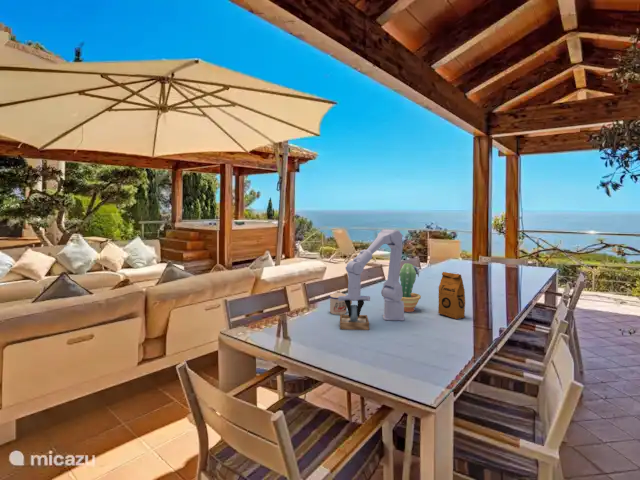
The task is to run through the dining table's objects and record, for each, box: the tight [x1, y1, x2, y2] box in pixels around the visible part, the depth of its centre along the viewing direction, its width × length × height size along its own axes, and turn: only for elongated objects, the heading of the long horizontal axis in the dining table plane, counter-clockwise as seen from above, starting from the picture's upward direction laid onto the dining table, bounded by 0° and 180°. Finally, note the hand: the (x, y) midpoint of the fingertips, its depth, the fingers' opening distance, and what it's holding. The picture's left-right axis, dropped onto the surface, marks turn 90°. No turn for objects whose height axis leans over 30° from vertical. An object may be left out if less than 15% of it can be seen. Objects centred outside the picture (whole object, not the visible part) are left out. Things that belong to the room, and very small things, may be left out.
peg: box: [350, 304, 358, 322], centre depth 171 cm, size 3×3×7 cm
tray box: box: [339, 314, 370, 331], centre depth 171 cm, size 13×13×3 cm
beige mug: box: [329, 290, 353, 316], centre depth 193 cm, size 12×9×12 cm
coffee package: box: [437, 271, 466, 320], centre depth 186 cm, size 10×12×22 cm
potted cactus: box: [399, 263, 422, 313], centre depth 198 cm, size 15×15×25 cm
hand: (354, 316), depth 171 cm, fingers closed on peg, 3 cm apart
